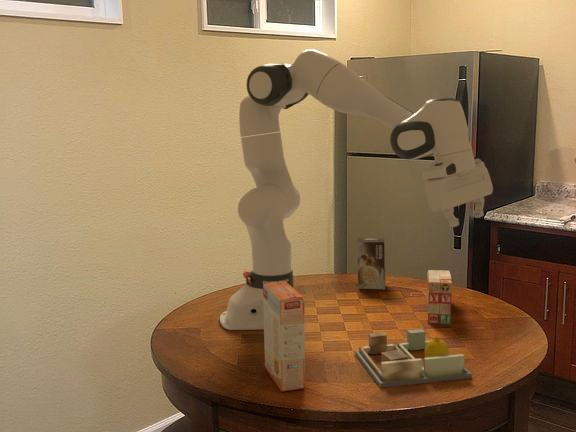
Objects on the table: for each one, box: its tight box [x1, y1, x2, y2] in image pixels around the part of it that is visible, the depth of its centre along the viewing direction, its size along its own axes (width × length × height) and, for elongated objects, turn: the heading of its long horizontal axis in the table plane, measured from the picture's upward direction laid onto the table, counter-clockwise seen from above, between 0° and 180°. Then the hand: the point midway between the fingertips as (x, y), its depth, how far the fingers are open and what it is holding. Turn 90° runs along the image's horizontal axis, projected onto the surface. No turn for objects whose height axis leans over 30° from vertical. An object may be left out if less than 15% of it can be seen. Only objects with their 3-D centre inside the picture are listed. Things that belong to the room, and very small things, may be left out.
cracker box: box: [263, 281, 306, 393], centre depth 141 cm, size 14×6×21 cm, turn 17°
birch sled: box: [358, 332, 423, 382], centre depth 148 cm, size 9×18×4 cm, turn 11°
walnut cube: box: [380, 350, 408, 363], centre depth 145 cm, size 4×4×4 cm
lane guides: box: [354, 350, 473, 388], centre depth 148 cm, size 21×19×1 cm
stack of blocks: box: [426, 269, 453, 325], centre depth 185 cm, size 21×6×12 cm, turn 168°
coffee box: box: [356, 237, 386, 290], centre depth 210 cm, size 9×6×16 cm
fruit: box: [424, 336, 450, 358], centre depth 145 cm, size 6×6×8 cm
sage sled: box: [397, 328, 465, 378], centre depth 150 cm, size 9×18×4 cm, turn 11°
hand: (467, 221), depth 151 cm, fingers open, 8 cm apart
